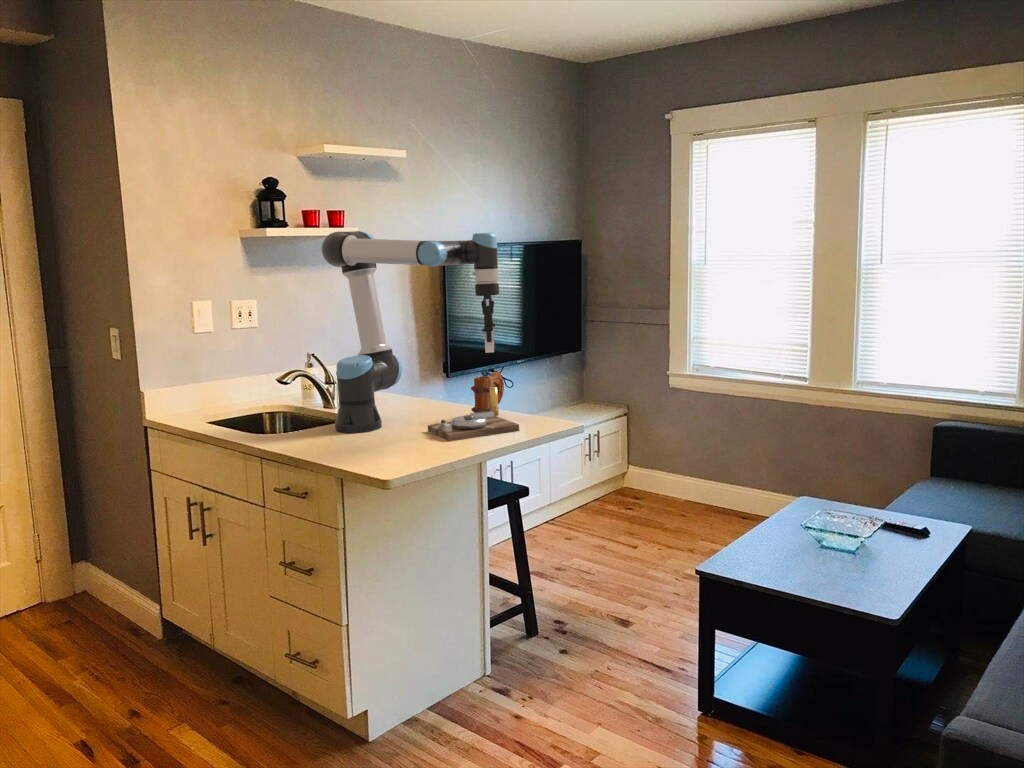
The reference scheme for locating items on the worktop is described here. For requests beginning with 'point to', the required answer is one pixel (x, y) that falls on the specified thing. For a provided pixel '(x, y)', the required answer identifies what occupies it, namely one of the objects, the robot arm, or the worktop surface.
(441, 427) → the stand
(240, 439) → the worktop surface
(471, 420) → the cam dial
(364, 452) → the worktop surface
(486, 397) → the mug
